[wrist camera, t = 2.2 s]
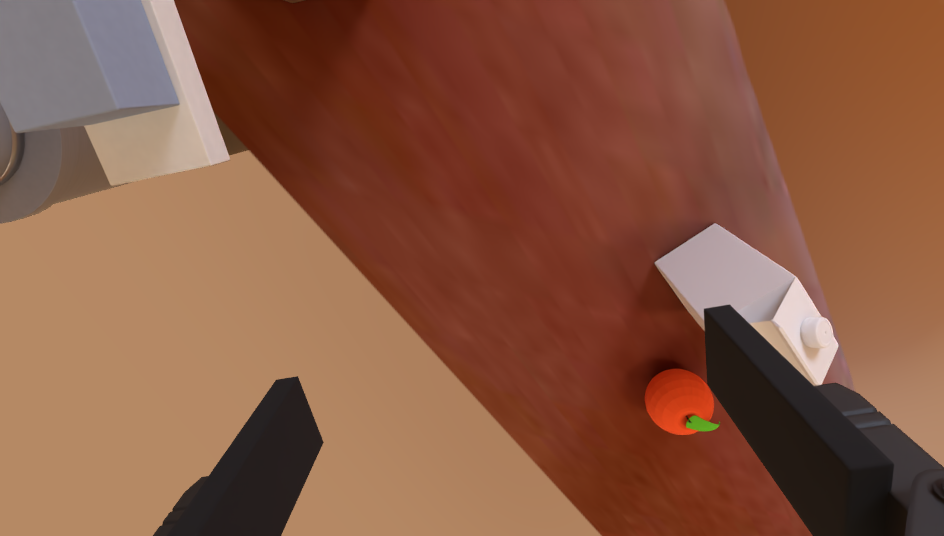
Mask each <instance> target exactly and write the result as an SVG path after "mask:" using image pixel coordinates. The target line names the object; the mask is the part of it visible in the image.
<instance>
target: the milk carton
mask: <svg viewBox="0 0 944 536" xmlns="http://www.w3.org/2000/svg"><path fill="white" fill-rule="evenodd" d="M654 263H655V265H656V267H657V268H658V270H659V271H660V272H661V274H662V275H663V277H664V278H665V280H666V281H667V282H668V284H669V285H670V287H671V288H672V289H673V291H674V292H675V294H676V295H677V297H678V298H679V299H680V301H681V302H682V304H683V305H684V306H685V308H686V309H687V310H688V312H689V313H690V314H691V315H692V317H693V318H694V319H695V320H696V321H697V323H698V324H699V325H700V326H701V328H702V329H703V330H704V331H705V326H704V309H705V308H711V307H717V306H723V305H729V304H730V305H731V306H732V307H733V308H734V309H735V310H736V311H737V312H738V313H739V314H740V315H741V316H742V317H743V318H744V319H745V320H746V321H747V322H748V323H749V324H750V325H751V326H752V327H753V328H755V329H756V330H757V331H758V332H759V333H760V334H761V335H762V336H763V337H764V338H765V339H766V340H767V341H768V342H769V343H770V344H771V345H772V346H773V347H774V348H775V349H776V350H777V351H778V352H779V353H780V354H781V355H782V356H783V357H785V358H786V359H787V360H788V361H789V362H790V363H791V364H792V365H793V366H794V367H795V368H796V369H797V370H798V371H799V372H800V373H801V374H802V375H803V376H804V377H805V378H806V379H807V380H808V381H809V382H810V383H811V384H812V385H813V386H816V385H822V382H823V380H824V378H825V376H826V373H827V371H828V369H829V367H830V365H831V362H832V360H833V358H834V356H835V353H836V351H837V349H838V343H837V341H836V340H835V338H834V336H833V329H832V326H831V324H830V322H829V321H828V320H827V319H826V318H823V317H821V315H820V313H819V312H818V310H817V309H816V307H815V305H814V304H813V302H812V300H811V299H810V297H809V296H808V294H807V292H806V291H805V289H804V288H803V286H802V284H801V283H800V281H799V280H798V279H797V277H796V276H794V275H793V274H792V273H790V272H789V271H787V270H786V269H784V268H783V267H781V266H780V265H778V264H777V263H775V262H774V261H772V260H771V259H769V258H768V257H766V256H765V255H763V254H762V253H760V252H758V251H757V250H755V249H754V248H752V247H751V246H749V245H748V244H746V243H745V242H743V241H742V240H740V239H739V238H737V237H736V236H734V235H733V234H731V233H730V232H728V231H727V230H725V229H724V228H722V227H721V226H719V225H718V224H716V223H714V224H713V225H711V226H710V227H708V228H707V229H705V230H703V231H702V232H700V233H699V234H697V235H696V236H694V237H693V238H691V239H690V240H688V241H687V242H685V243H683V244H682V245H680V246H679V247H677V248H676V249H674V250H673V251H671V252H670V253H668V254H666V255H665V256H663V257H662V258H660V259H659V260H657V261H656V262H654Z"/></svg>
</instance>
